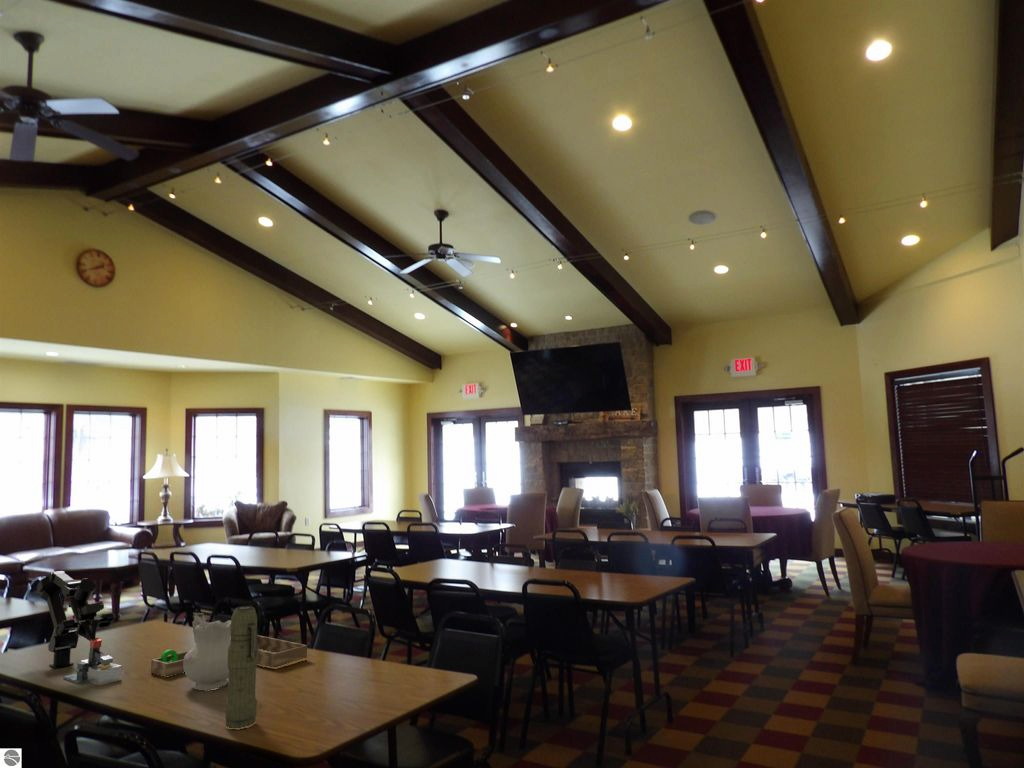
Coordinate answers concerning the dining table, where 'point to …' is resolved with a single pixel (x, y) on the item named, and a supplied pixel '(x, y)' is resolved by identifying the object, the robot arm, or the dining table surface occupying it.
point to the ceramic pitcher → (208, 654)
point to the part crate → (168, 665)
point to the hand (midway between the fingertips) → (93, 641)
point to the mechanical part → (169, 652)
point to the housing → (104, 674)
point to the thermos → (242, 668)
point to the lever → (97, 654)
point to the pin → (105, 665)
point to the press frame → (80, 673)
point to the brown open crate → (279, 651)
